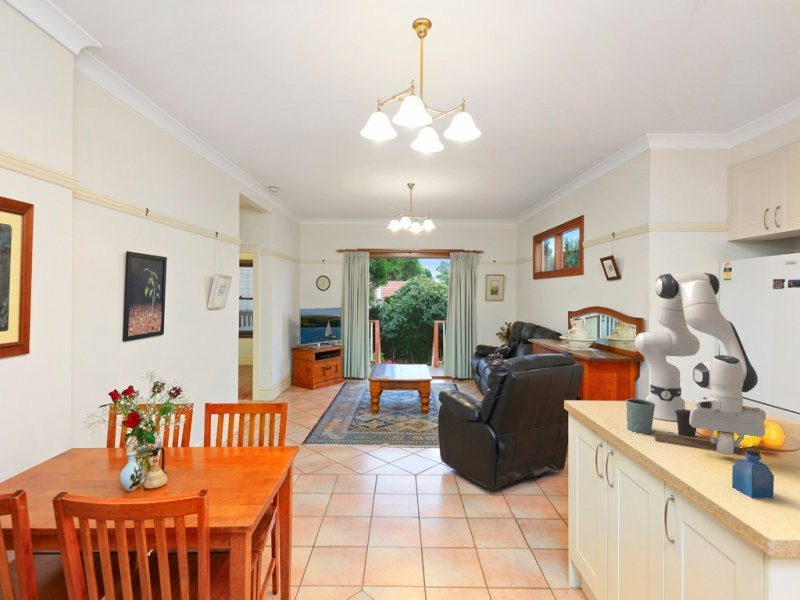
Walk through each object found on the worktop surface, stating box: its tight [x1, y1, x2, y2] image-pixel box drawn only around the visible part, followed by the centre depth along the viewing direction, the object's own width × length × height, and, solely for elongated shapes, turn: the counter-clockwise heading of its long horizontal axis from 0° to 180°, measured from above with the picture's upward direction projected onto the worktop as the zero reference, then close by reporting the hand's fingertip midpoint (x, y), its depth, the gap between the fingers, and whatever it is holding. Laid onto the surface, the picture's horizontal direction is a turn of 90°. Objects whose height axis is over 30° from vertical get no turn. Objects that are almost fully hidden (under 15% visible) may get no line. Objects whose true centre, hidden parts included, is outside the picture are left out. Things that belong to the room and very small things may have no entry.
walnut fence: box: [654, 431, 744, 456], centre depth 151 cm, size 2×26×4 cm, turn 60°
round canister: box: [716, 431, 734, 456], centre depth 140 cm, size 4×4×7 cm
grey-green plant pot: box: [625, 398, 655, 435], centre depth 168 cm, size 10×10×12 cm
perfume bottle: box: [731, 447, 775, 499], centre depth 115 cm, size 6×6×12 cm
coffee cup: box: [675, 409, 697, 438], centre depth 163 cm, size 8×8×10 cm
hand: (725, 444), depth 140 cm, fingers closed on round canister, 4 cm apart
